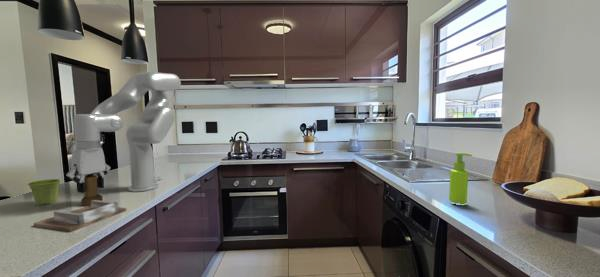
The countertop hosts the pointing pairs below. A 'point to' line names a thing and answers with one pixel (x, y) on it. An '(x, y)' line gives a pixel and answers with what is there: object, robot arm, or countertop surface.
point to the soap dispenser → (459, 181)
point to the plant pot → (45, 191)
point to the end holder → (81, 216)
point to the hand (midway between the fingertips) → (91, 189)
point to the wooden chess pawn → (90, 190)
